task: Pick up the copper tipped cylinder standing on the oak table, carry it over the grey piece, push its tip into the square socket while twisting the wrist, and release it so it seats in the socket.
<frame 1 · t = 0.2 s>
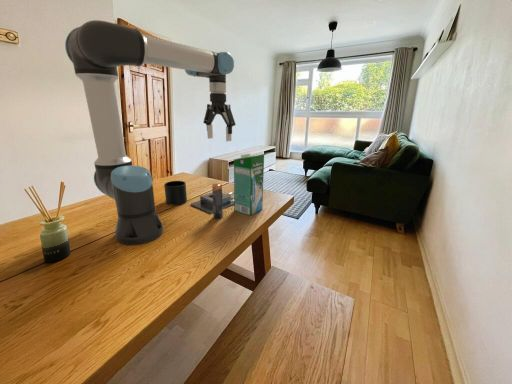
hand: (219, 139, 120), 28 cm above the table, fingers open, 13 cm apart
milk carton: (248, 210, 109), on the table
copper tipped cylinder: (218, 217, 101), on the table
mug: (177, 201, 118), on the table
grey piece: (215, 203, 115), on the table
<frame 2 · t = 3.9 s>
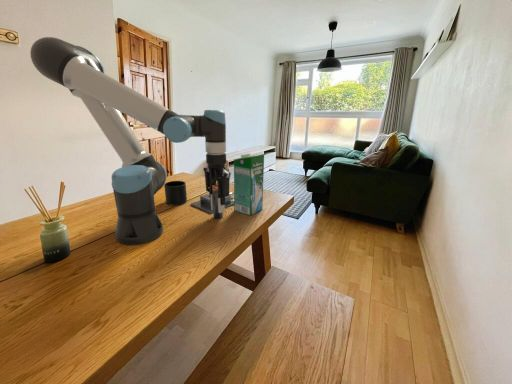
hand: (217, 210, 100), 3 cm above the table, fingers closed on copper tipped cylinder, 4 cm apart
copper tipped cylinder: (218, 217, 101), on the table, touching gripper
everything else where it was.
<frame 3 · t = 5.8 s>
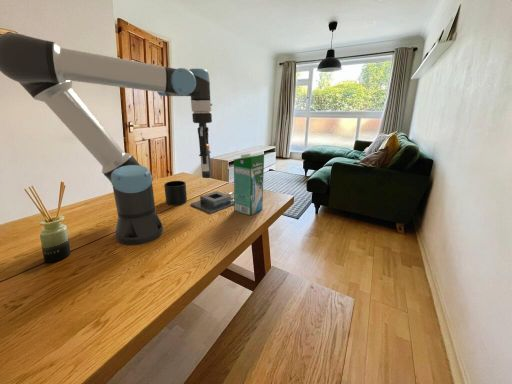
hand: (206, 169, 105), 17 cm above the table, fingers closed on copper tipped cylinder, 4 cm apart
copper tipped cylinder: (206, 176, 106), point 14 cm above the table, touching gripper
everything else where it was.
when the fingers open (5 cm above the table, at t = 8.1 s): copper tipped cylinder drops 1 cm, resting on grey piece.
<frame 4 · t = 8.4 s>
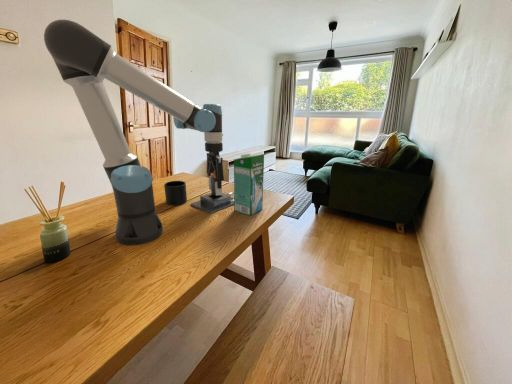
hand: (215, 191, 113), 6 cm above the table, fingers open, 8 cm apart
copper tipped cylinder: (215, 202, 115), point 1 cm above the table, touching grey piece
everything else where it was.
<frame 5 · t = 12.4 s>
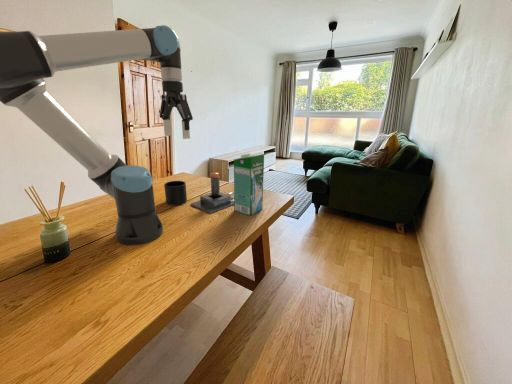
hand: (176, 137, 102), 31 cm above the table, fingers open, 13 cm apart
nothing on the table moved.
at the end: copper tipped cylinder 0.0 cm off-centre on the grey piece, point 0.8 cm above the grey piece's base; copper tipped cylinder tilted 0°; the gripper is holding nothing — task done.
